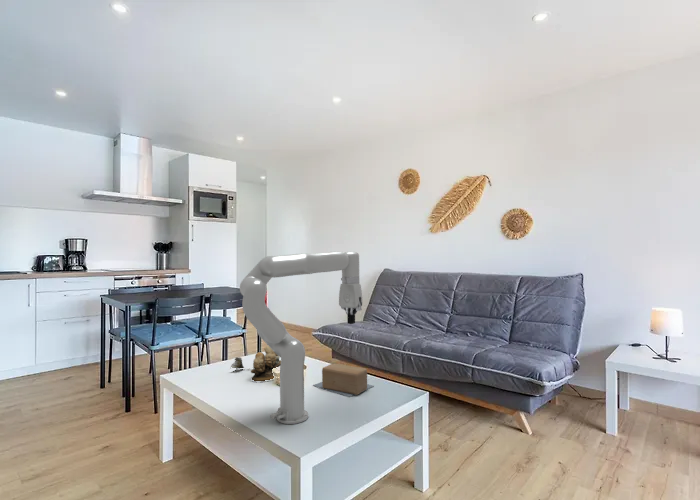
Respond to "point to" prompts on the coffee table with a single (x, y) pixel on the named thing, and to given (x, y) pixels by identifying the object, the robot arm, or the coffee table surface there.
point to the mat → (340, 391)
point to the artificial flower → (237, 363)
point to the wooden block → (344, 378)
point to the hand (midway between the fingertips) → (351, 323)
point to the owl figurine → (265, 365)
